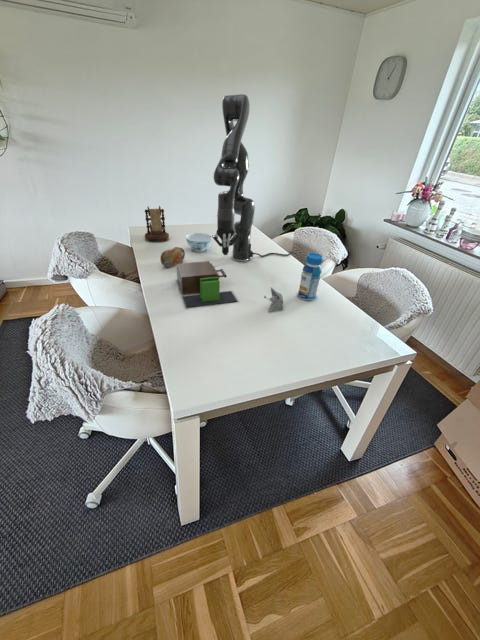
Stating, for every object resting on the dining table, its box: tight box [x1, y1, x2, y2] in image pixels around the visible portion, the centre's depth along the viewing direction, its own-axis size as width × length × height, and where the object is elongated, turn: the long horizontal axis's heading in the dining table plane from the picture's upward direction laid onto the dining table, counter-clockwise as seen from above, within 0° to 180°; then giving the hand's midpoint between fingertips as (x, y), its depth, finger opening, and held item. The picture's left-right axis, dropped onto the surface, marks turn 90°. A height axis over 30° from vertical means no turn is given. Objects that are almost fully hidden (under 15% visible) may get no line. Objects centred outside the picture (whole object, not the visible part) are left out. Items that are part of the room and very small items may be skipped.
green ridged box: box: [199, 277, 221, 302], centre depth 129 cm, size 8×4×10 cm, turn 109°
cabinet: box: [175, 260, 217, 296], centre depth 139 cm, size 16×15×9 cm
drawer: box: [210, 262, 227, 279], centre depth 140 cm, size 19×13×7 cm
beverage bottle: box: [297, 252, 324, 301], centre depth 133 cm, size 8×8×20 cm
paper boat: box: [263, 287, 284, 313], centre depth 129 cm, size 12×6×9 cm
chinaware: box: [185, 232, 213, 253], centre depth 177 cm, size 15×15×8 cm
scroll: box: [144, 205, 170, 243], centre depth 185 cm, size 15×15×20 cm
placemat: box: [182, 290, 238, 309], centre depth 132 cm, size 22×9×1 cm, turn 109°
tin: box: [159, 246, 186, 268], centre depth 158 cm, size 15×3×8 cm, turn 143°
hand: (225, 254), depth 143 cm, fingers closed
